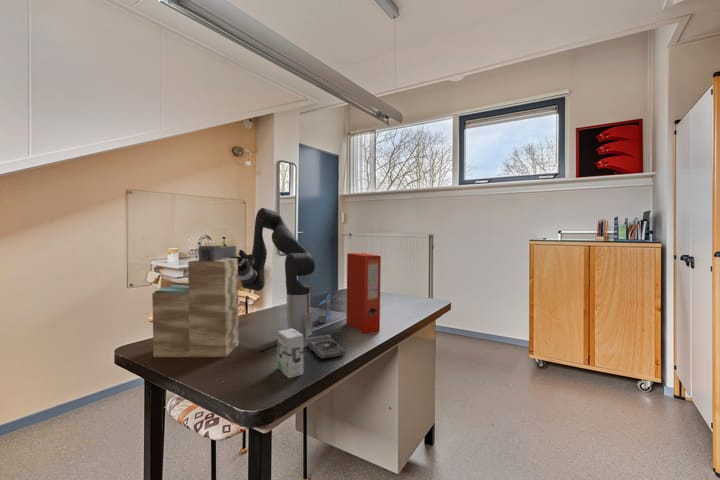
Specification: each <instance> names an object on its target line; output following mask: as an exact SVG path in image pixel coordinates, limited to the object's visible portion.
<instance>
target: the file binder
mask: <svg viewBox="0 0 720 480" xmlns="http://www.w3.org/2000/svg"><path fill="white" fill-rule="evenodd" d="M346 255H347V257H346V260H347V261H346V262H347V263H346V264H347V265H346V269H347V270H346V324H347V325H349V326H351V327H353V329H355V330H357V331H358V332H360V333H362V334H363V333H364V335H366V334H365V333H367V334H372V333H371V332H375V333H379V332H380V330H381V329H380V327H381V326H380V324H381V267H382V265H381V263H382V261H381V260H382V257H381V255H378V254H377V255H376V254H373V253H371V254H370V253H364V252H350V253H349V252H347V253H346ZM378 331H379V332H378Z"/></svg>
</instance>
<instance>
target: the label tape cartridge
mask: <svg viewBox="0 0 720 480" xmlns="http://www.w3.org/2000/svg"><path fill="white" fill-rule="evenodd" d="M331 296H332V295H331V292H330V293H329V294H327V295H326V297H325V299H324V300H322V301H321V302H320V303H319V304H318V308H317V309H318V310H317V311H318V313H317V314H318V318H317V319H318V323H319V324H320V323H321V324H326V323H328V321H329V320H330V319H331V318H332V317H331Z"/></svg>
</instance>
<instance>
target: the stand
mask: <svg viewBox="0 0 720 480" xmlns="http://www.w3.org/2000/svg"><path fill="white" fill-rule="evenodd" d="M187 265H188V267H187V269H188V270H187V271H188V273H187V274H188V277H187V279H188V280H187V281H188V285H182V284H181V285H171V286H166V287H164V288H160V289H158V290H155V291H154V292H152V294H151V295H152V296H151V297H152V300H151V301H152V344H153V345H152V346H153V347H152V348H153V350H152V352H153V353H152V354H153V358H226V357H228V355H229V354H230V353H232V351H233V350H234V349H236V348H237V347H238V346H239V343H240V342H239V334H240V332H239V331H240V330H239V329H240V328H239V278H238V258H225V259H220V260H218V261H199V258H198V259H194V260H190V261H189V260H188V261H187Z"/></svg>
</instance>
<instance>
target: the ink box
mask: <svg viewBox="0 0 720 480" xmlns="http://www.w3.org/2000/svg"><path fill="white" fill-rule="evenodd" d="M277 370H279V371H280V372H281V373H282V374H283V375H284V376H286V377H287V378H288V379H291V378H295V377H298V376H301V375H304V347H303V335H302V334H301V333H299V332H298V331H296V330H294V329H293V328H291V329H287V328H286V329H284V330H278V331H277Z"/></svg>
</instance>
